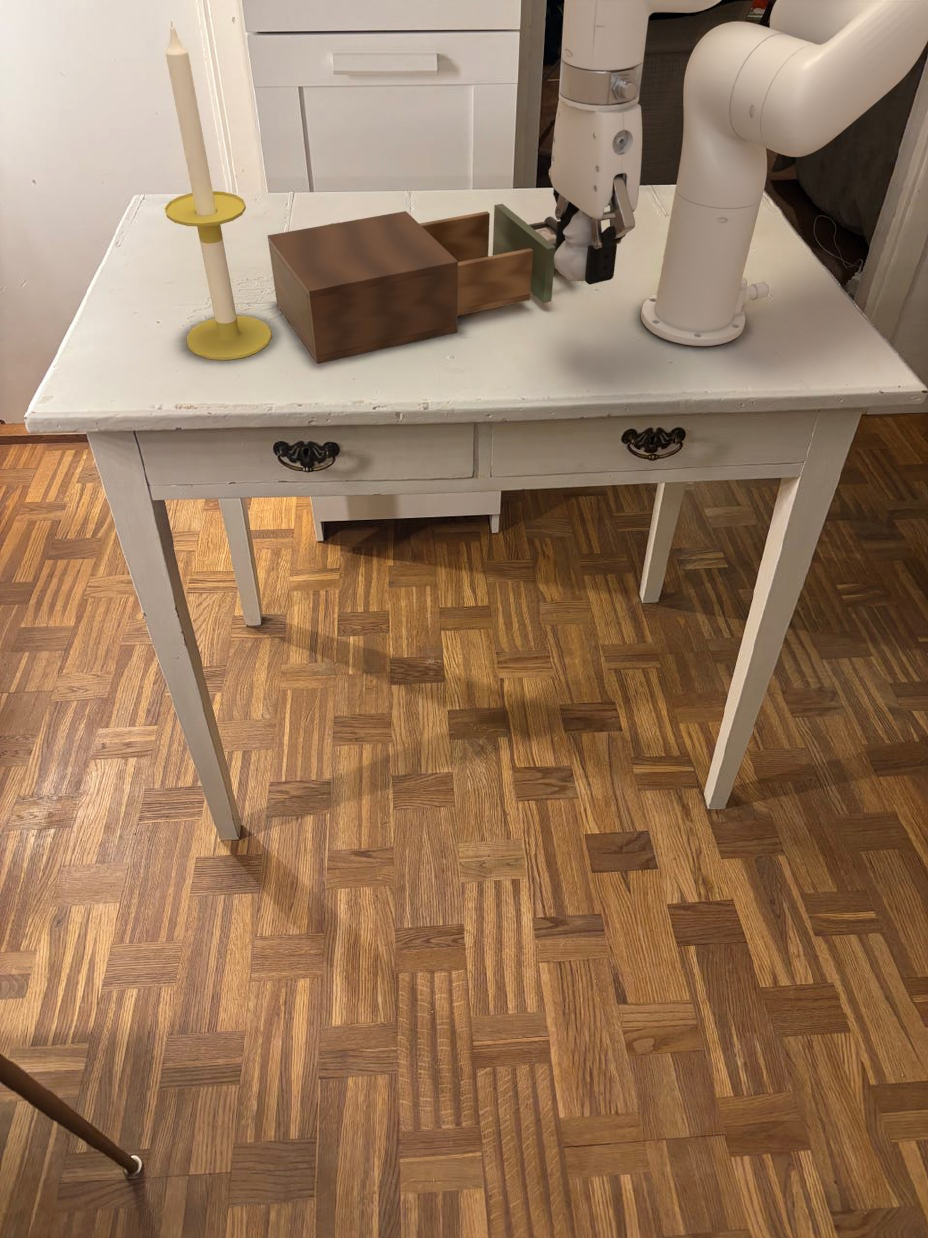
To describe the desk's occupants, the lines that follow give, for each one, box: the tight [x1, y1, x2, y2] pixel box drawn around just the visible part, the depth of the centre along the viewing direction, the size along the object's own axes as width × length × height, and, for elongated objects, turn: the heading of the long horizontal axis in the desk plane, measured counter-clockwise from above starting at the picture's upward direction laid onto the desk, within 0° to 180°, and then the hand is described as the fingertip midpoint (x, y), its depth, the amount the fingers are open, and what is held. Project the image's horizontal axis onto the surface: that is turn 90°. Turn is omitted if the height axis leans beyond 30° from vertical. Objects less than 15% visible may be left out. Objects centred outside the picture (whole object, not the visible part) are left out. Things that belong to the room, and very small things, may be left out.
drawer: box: [419, 203, 558, 317], centre depth 116 cm, size 22×14×7 cm, turn 115°
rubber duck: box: [554, 210, 592, 282], centre depth 97 cm, size 5×7×8 cm
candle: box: [164, 20, 273, 361], centre depth 98 cm, size 10×10×32 cm
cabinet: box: [267, 210, 458, 364], centre depth 110 cm, size 18×15×9 cm
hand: (583, 266), depth 99 cm, fingers closed on rubber duck, 5 cm apart
